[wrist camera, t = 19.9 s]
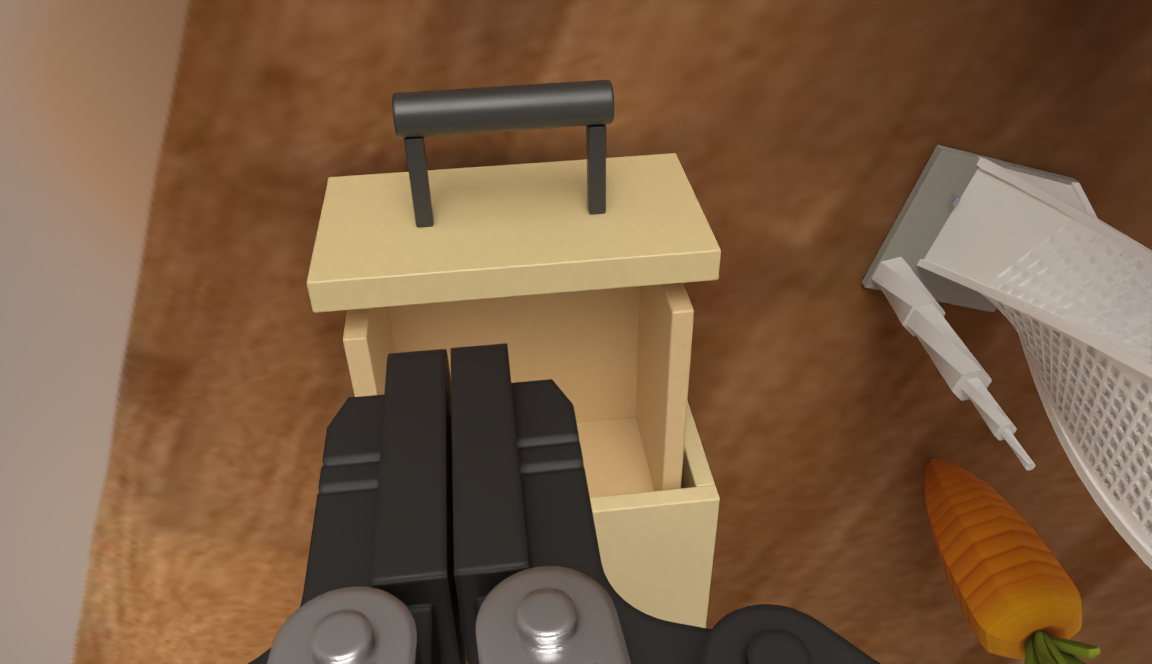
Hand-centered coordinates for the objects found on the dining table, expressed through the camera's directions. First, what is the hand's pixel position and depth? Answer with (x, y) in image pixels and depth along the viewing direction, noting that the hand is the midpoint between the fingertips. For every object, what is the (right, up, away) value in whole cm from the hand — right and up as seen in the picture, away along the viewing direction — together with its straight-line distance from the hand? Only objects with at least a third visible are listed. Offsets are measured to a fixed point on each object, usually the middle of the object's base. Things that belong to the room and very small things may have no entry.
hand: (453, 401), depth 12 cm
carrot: (+21, -6, +38) cm, 44 cm away
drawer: (-1, +4, +26) cm, 26 cm away
